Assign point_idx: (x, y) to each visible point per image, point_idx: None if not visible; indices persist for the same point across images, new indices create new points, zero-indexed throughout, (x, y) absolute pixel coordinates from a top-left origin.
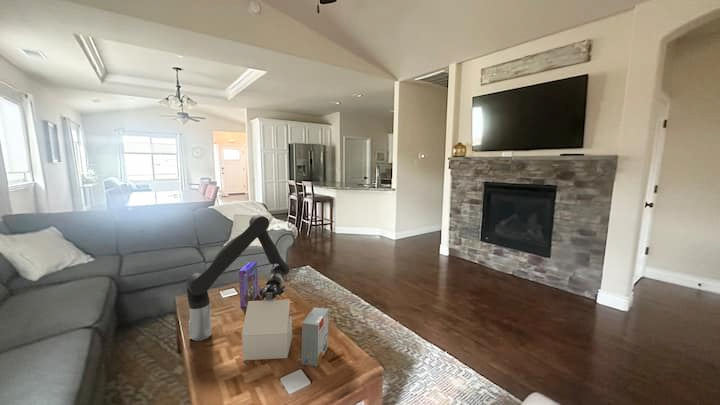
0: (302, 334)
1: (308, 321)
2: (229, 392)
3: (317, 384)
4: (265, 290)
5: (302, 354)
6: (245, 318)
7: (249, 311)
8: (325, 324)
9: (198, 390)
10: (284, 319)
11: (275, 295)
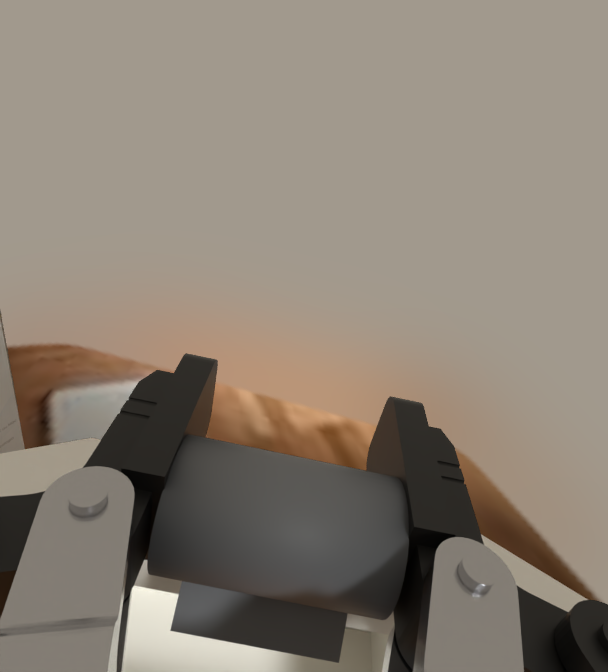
0: (3, 334)
1: None
2: (363, 440)
3: (31, 379)
4: (452, 620)
5: (23, 445)
6: (499, 548)
7: (512, 571)
8: None
9: (482, 479)
10: (72, 456)
11: (143, 389)
